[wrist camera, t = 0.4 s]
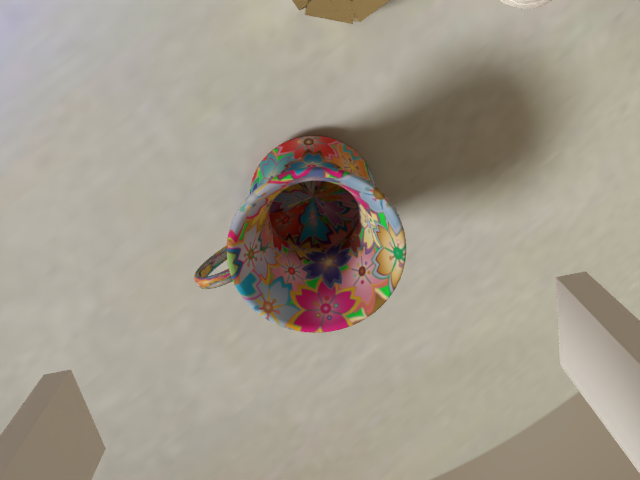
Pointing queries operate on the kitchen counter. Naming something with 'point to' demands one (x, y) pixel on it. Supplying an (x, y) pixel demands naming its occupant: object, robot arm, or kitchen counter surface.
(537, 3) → the garlic bulb
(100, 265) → the kitchen counter surface
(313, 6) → the ring
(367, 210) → the mug
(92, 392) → the kitchen counter surface
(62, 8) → the kitchen counter surface
